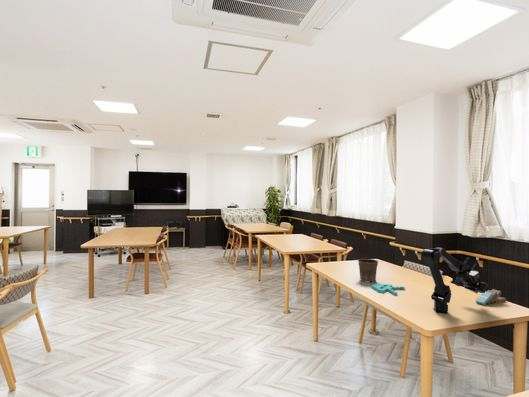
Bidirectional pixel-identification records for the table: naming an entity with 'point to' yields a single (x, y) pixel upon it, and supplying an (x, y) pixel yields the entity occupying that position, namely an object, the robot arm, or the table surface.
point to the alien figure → (386, 288)
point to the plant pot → (368, 269)
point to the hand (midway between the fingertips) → (477, 292)
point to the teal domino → (484, 298)
